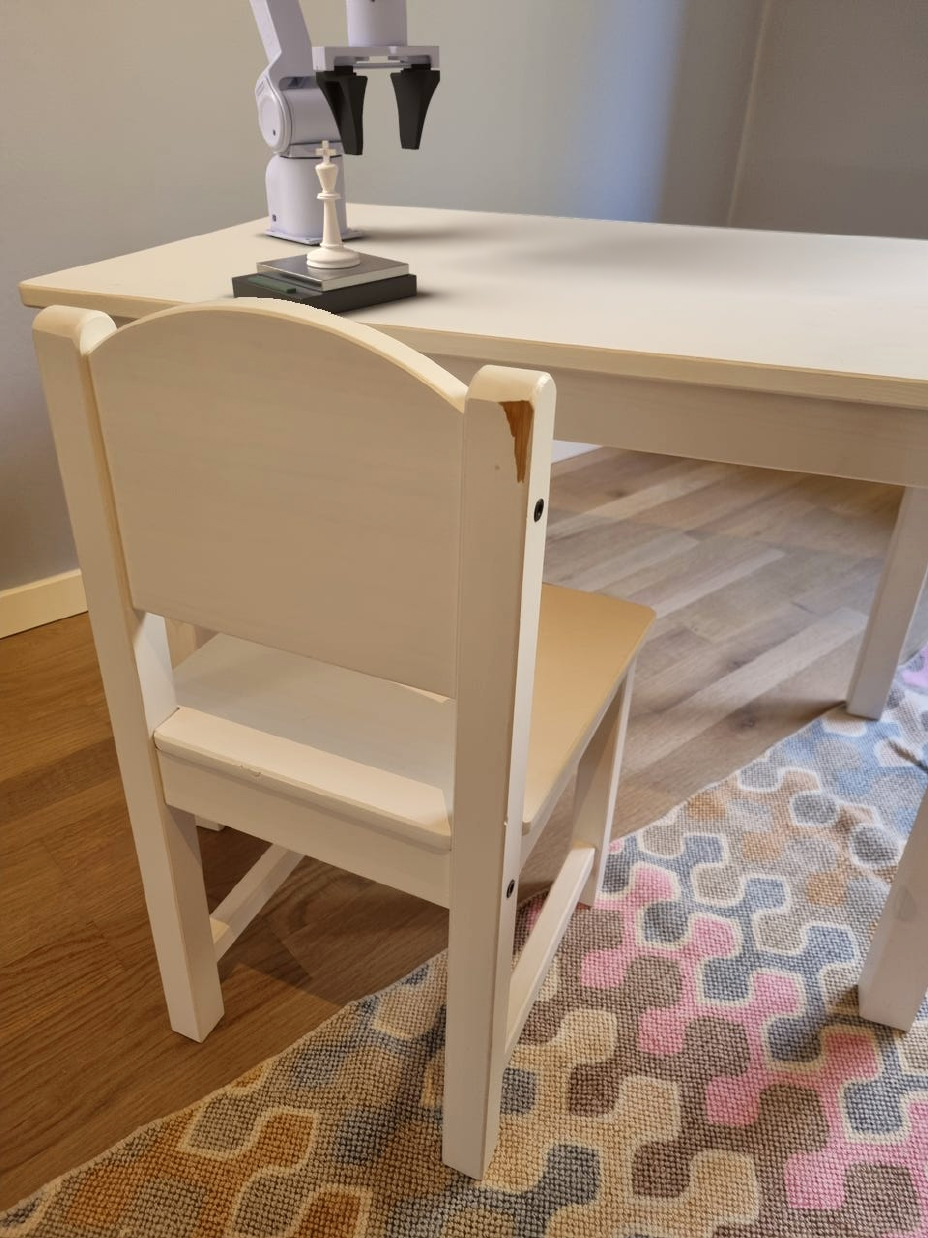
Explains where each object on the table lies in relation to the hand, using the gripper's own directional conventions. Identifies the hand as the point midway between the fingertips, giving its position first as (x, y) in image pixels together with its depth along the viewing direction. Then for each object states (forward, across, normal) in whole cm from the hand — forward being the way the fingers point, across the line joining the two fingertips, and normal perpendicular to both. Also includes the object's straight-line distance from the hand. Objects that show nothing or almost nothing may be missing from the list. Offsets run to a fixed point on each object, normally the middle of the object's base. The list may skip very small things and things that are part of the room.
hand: (382, 151), depth 94 cm
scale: (+10, -15, -9) cm, 20 cm away
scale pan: (+9, -14, -9) cm, 19 cm away
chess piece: (+8, -14, -9) cm, 18 cm away
